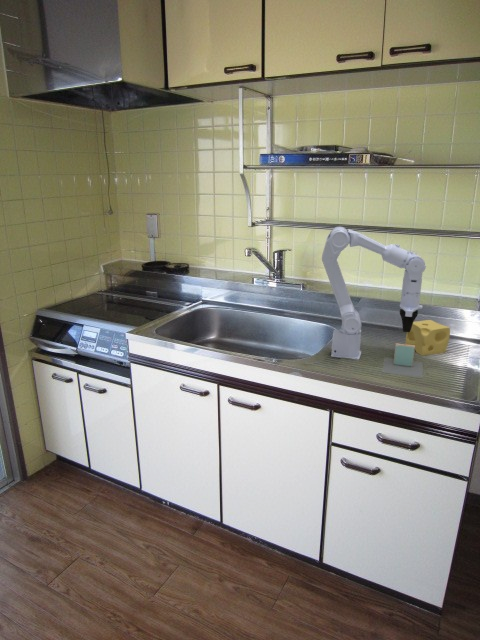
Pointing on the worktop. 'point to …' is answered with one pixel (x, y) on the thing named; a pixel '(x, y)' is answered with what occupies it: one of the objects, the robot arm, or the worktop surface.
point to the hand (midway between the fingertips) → (406, 331)
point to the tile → (404, 354)
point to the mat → (403, 368)
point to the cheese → (428, 337)
